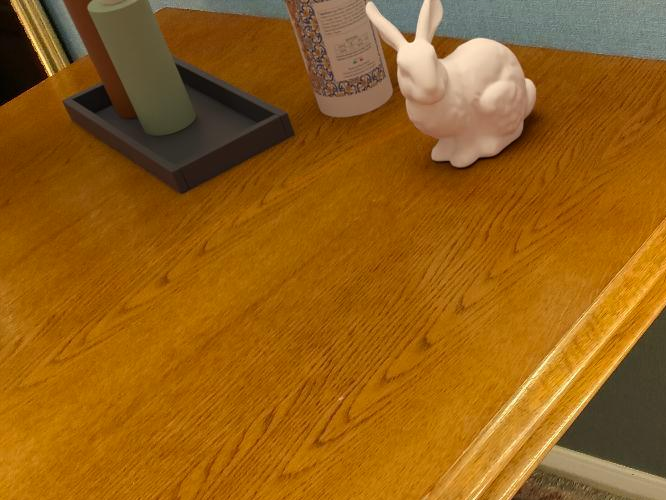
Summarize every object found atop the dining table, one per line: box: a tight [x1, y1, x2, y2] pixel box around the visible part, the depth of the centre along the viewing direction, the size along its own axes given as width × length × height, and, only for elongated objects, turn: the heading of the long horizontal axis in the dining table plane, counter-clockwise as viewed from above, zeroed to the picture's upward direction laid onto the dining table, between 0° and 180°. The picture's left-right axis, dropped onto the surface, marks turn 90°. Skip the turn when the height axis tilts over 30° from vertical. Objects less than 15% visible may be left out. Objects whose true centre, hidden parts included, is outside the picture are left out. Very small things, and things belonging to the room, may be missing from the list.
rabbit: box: [365, 0, 537, 168], centre depth 80 cm, size 12×9×12 cm
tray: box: [61, 54, 296, 195], centre depth 92 cm, size 12×24×3 cm, turn 42°
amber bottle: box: [62, 0, 138, 119], centre depth 92 cm, size 5×5×13 cm
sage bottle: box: [87, 0, 196, 136], centre depth 89 cm, size 5×5×13 cm
